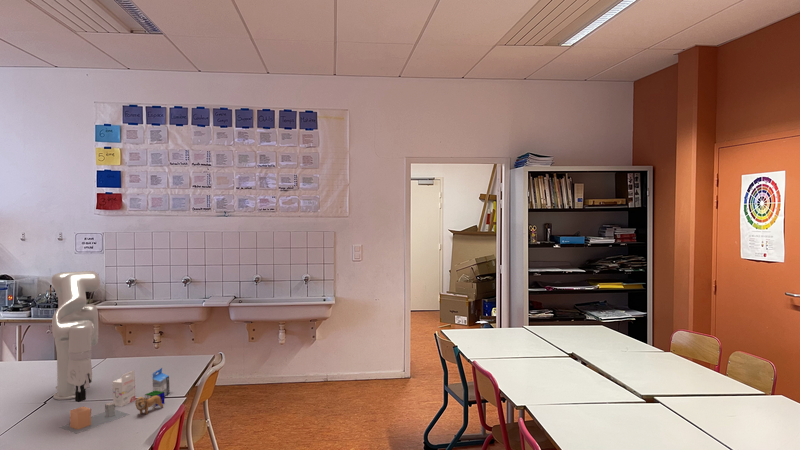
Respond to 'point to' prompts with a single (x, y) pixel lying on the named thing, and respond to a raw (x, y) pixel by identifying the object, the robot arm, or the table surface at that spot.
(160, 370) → the label tape box
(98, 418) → the board
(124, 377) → the ink cartridge box
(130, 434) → the table surface
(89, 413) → the orange wooden cube
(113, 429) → the table surface
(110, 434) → the table surface
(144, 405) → the lion figurine
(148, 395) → the puzzle toy
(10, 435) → the table surface
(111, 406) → the post
